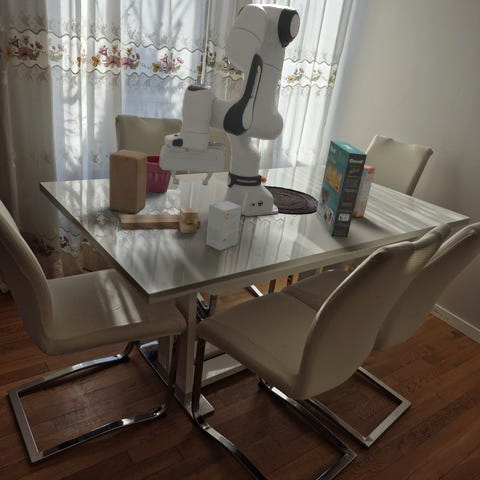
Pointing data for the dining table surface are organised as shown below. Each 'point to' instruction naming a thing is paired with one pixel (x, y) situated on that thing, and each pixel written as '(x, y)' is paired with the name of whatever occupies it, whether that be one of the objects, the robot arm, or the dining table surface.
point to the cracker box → (364, 191)
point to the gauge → (188, 220)
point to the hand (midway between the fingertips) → (190, 184)
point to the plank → (151, 221)
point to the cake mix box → (340, 187)
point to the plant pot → (156, 175)
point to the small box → (223, 225)
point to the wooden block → (128, 181)
